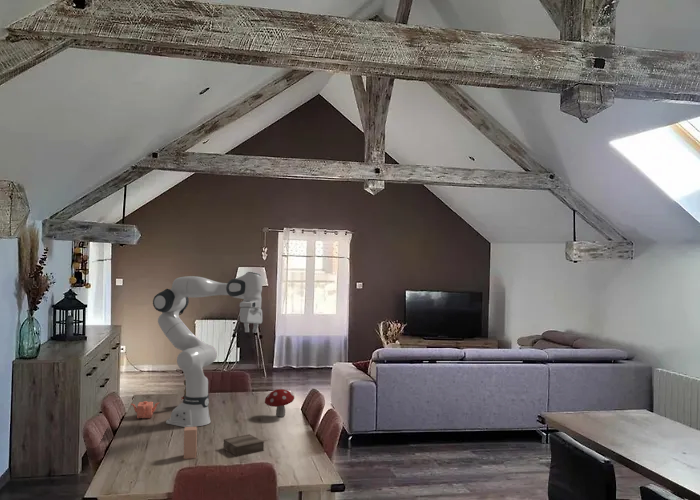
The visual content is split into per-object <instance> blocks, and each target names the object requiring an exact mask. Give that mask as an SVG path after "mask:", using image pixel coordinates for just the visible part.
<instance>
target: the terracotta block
mask: <svg viewBox="0 0 700 500" xmlns="http://www.w3.org/2000/svg"><path fill="white" fill-rule="evenodd" d="M183 432H184V433H183V459H184V460H186V459H187V460H188V459H196V458H197V453H198V451H197V450H198V448H197V447H198V445H197V444H198V439H197V437H198V426H194V427H184V430H183Z"/></svg>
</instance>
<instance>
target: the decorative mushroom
mask: <svg viewBox="0 0 700 500" xmlns="http://www.w3.org/2000/svg"><path fill="white" fill-rule="evenodd" d="M294 400H295V395H294V394H293V393H292V392H291V391H289V390H287V389H283V388H277V389H274V390H272V391H271V392H269V393H268V394H267V395H266V396H265V398H264V403H265V404H266V405H267V406H268V407H274V408H275V407H276V409H275V416H276V417H284V416H286V408H285V406H287V405H289V404H291V403H293V401H294Z"/></svg>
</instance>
